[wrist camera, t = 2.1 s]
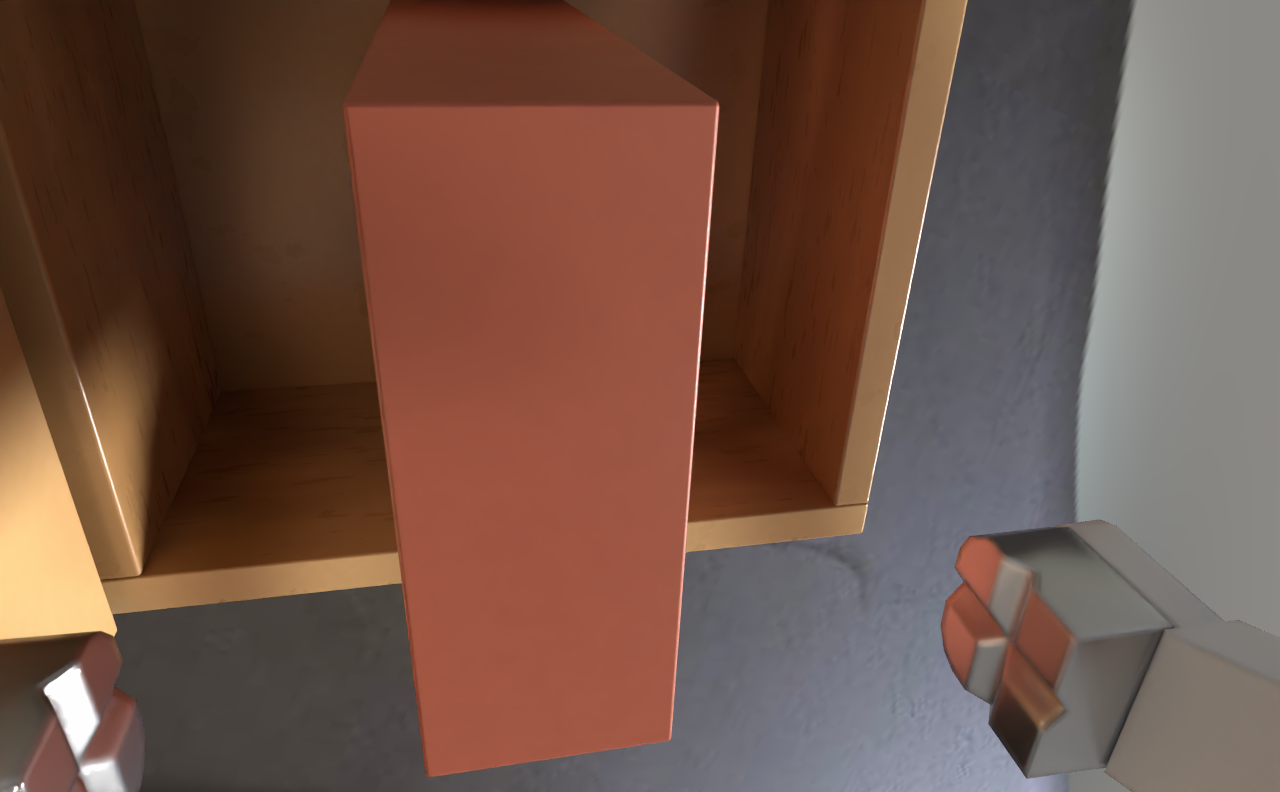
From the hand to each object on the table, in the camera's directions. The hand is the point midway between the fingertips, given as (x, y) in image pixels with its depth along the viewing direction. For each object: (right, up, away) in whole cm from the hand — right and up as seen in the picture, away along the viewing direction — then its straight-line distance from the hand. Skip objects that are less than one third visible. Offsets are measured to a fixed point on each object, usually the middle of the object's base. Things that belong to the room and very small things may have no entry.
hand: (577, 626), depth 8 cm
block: (-4, +8, +15) cm, 17 cm away
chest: (-4, +9, +15) cm, 18 cm away
